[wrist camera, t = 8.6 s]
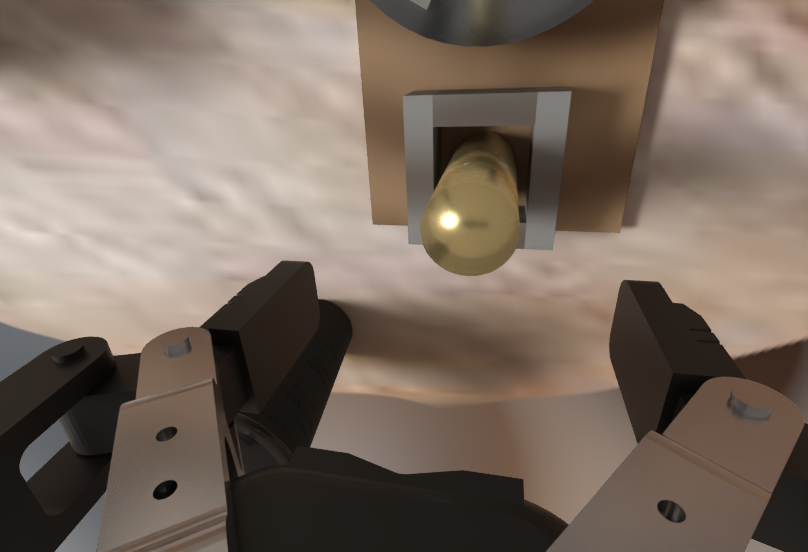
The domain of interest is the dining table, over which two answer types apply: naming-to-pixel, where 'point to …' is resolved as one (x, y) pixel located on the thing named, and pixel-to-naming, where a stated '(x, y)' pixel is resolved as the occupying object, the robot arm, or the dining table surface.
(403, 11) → the handwheel
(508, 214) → the gold metallic cylinder
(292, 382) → the dark tapered cylinder
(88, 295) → the dining table surface
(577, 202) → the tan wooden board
